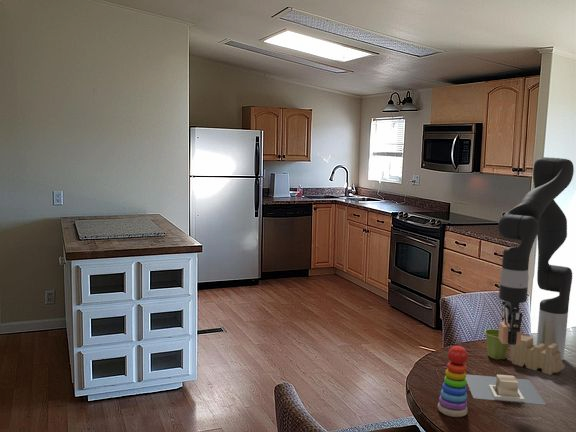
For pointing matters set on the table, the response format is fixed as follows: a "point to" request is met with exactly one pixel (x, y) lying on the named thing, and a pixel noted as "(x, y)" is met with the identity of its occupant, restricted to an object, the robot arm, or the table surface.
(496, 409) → the table surface
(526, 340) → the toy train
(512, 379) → the maple block
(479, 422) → the table surface
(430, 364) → the table surface
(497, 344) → the plant pot
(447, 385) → the stacking toy
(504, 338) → the terracotta block
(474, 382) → the board
